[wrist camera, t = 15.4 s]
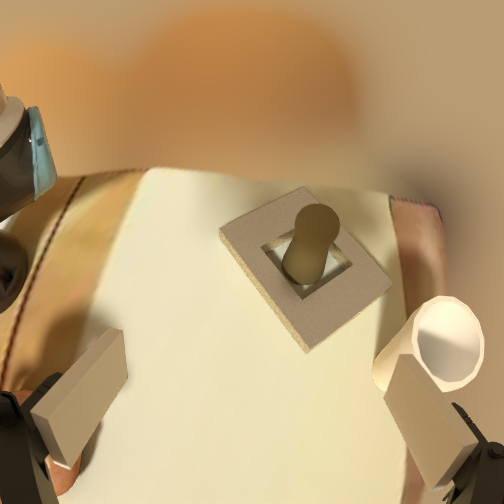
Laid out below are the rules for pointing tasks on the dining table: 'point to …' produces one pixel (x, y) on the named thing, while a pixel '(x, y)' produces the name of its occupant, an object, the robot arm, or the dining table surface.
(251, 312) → the dining table surface
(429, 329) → the foam cup
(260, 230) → the plate
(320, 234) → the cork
